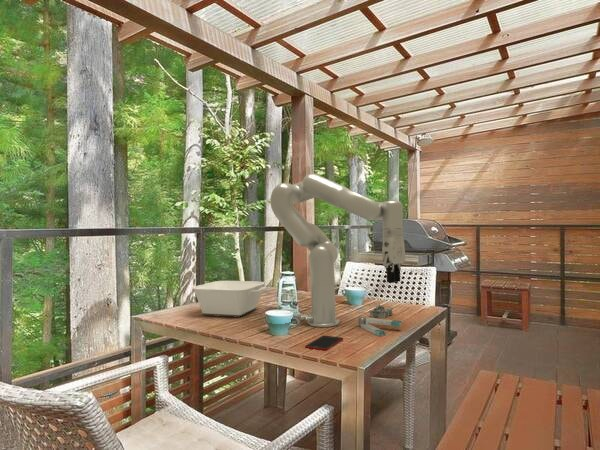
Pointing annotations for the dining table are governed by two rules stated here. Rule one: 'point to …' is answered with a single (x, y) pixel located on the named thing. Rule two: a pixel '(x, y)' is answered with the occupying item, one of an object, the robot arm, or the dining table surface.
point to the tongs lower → (370, 327)
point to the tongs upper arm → (384, 322)
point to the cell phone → (324, 343)
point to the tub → (229, 297)
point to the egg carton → (380, 312)
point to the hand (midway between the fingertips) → (393, 281)
